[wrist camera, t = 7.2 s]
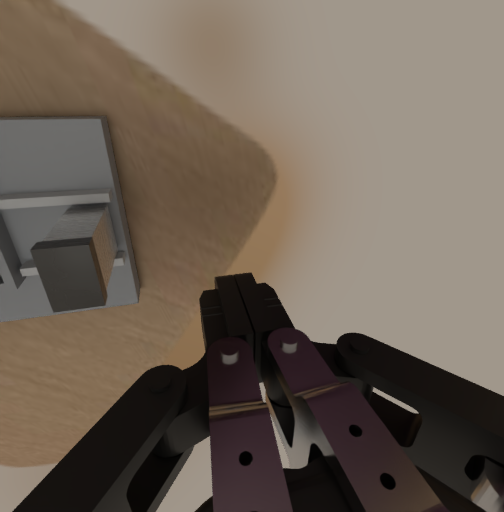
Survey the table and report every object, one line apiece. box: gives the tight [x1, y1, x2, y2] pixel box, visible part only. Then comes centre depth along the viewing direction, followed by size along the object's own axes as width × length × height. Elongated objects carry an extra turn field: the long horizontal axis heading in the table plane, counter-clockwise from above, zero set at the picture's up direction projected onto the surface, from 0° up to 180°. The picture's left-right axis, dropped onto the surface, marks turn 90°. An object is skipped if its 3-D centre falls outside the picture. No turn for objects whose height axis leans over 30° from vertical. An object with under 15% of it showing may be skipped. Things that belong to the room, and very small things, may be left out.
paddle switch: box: [30, 204, 118, 313], centre depth 16 cm, size 2×3×6 cm
